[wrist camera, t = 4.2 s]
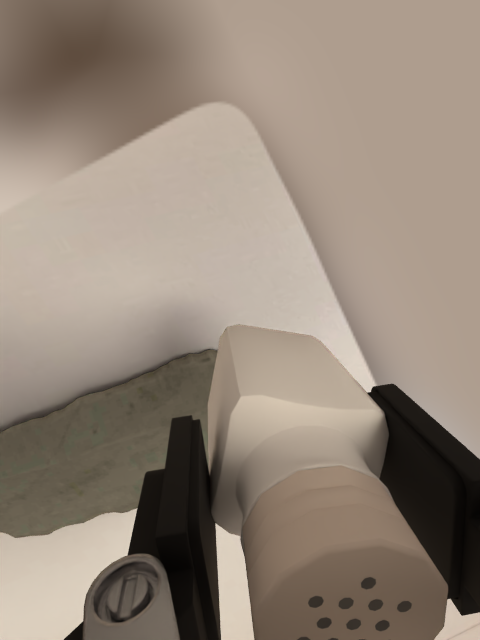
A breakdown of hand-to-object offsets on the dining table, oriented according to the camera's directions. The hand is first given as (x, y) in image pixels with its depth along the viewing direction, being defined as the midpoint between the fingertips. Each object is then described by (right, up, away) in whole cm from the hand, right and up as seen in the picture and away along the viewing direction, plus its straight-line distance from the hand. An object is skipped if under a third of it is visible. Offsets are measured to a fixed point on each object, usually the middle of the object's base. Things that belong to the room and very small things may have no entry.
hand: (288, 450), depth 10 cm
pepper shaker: (0, +2, +5) cm, 5 cm away
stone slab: (-11, -6, +17) cm, 21 cm away
